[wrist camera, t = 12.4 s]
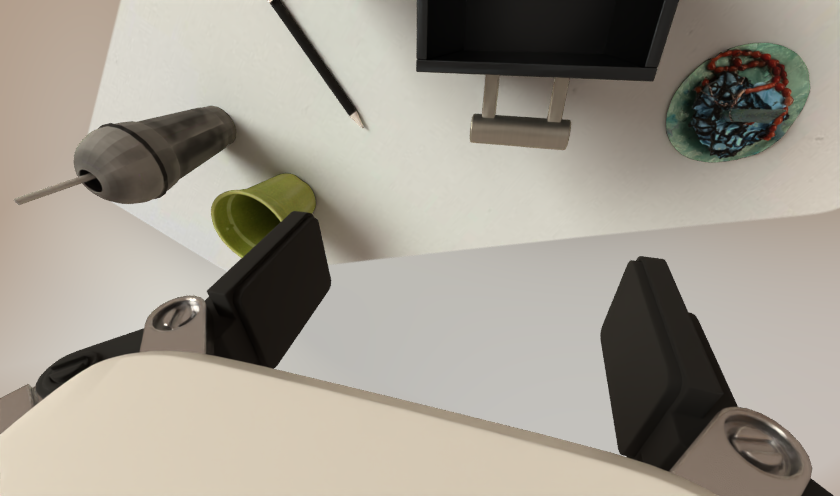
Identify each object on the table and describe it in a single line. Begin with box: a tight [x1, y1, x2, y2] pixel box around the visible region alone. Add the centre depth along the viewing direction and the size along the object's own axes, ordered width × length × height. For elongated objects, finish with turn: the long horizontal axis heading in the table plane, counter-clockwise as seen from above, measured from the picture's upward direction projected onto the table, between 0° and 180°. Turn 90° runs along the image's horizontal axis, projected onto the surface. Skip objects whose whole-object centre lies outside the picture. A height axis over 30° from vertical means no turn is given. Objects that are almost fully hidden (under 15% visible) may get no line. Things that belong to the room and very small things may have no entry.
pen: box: [268, 0, 364, 128], centre depth 34 cm, size 1×19×1 cm, turn 34°
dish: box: [666, 43, 810, 162], centre depth 28 cm, size 8×7×8 cm
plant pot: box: [211, 173, 316, 258], centre depth 42 cm, size 9×9×9 cm
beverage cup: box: [14, 106, 236, 205], centre depth 35 cm, size 7×7×20 cm
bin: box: [416, 0, 679, 150], centre depth 23 cm, size 14×12×13 cm
